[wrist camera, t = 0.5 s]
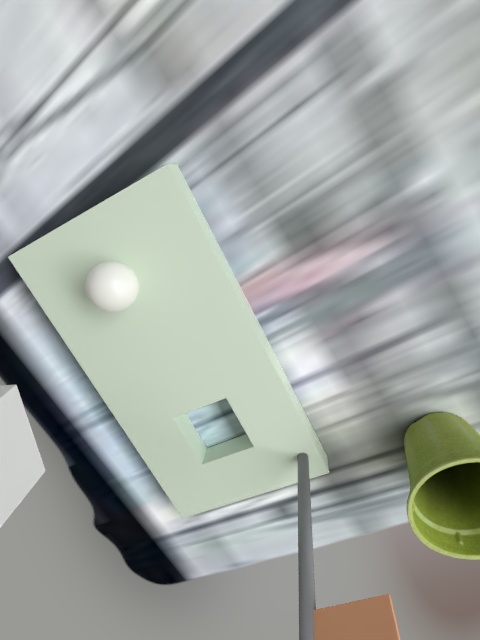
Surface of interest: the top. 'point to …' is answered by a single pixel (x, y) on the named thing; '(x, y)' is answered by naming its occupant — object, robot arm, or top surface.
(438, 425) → the plant pot
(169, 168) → the green
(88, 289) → the ball
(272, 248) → the top surface
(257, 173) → the top surface
